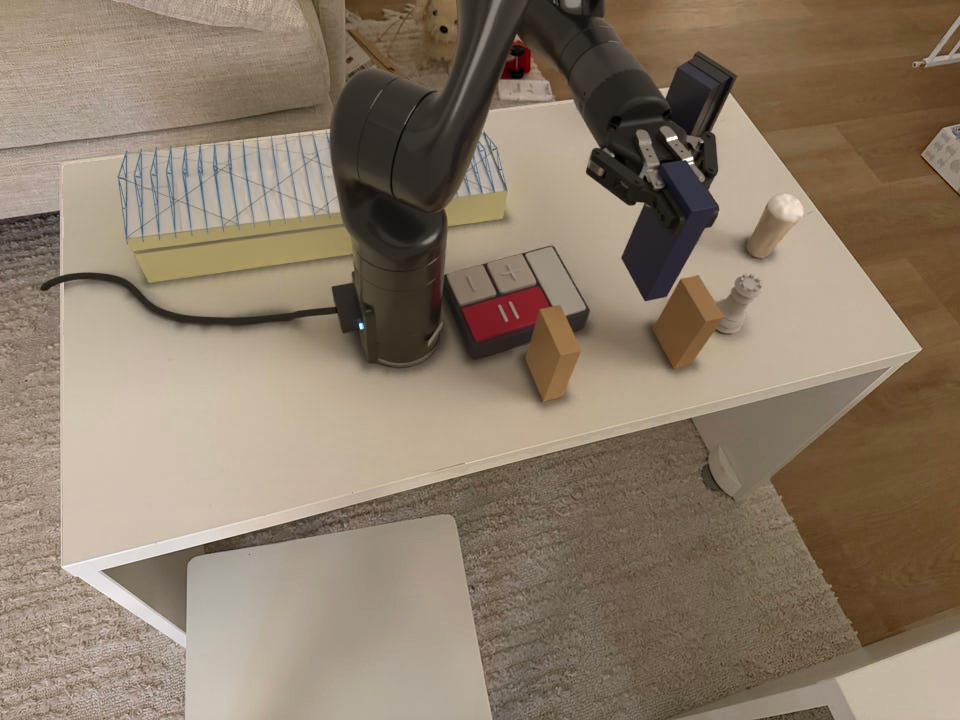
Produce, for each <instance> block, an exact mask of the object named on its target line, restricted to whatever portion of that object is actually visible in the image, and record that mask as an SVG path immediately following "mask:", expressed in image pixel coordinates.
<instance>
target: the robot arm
mask: <svg viewBox="0 0 960 720" xmlns="http://www.w3.org/2000/svg"><path fill="white" fill-rule="evenodd" d="M455 5H456V19H457V20H456V24H457V30H456V32H457V33H456V44H455V49H454V54H453V58H452V63H451V67H450V70H449V74H448V76H447V79H446V82H445V84H444V87H443V89H442V91H441V92H440V91H438V90H435V89H433V88H430V87H428V86H426V85H424V84H421V83H419V82H416V81H414V80H411V79H410V78H409V79H408V78H406V77H404V76H401V75H398V74H397V73H394V72H391V71H389V70H386V69H384V68H383V69H382V68H380V67H379V68H378V67H367V68H364V69H361V70H359V71H357V72H355V73H354V74H353V75H352V76H351V77H350V78H349V79H348V80H347V81H346V82H345V83H344V85H343V87H342V88H341V90H340V92H339V94H338V96H337V98H336V101H335V103H334V107H333V110H332V113H331V119H330V126H329V133H330V140H329V143H330V158H331V165H332V171H333V177H334V182H335V187H336V192H337V197H338V202H339V207H340V213H341V218H342V222H343V224H344V226H345V228H346V230H347V231H348V233H349V234H350V235H351V243H352V252H353V254H352V261H353V270H352V271H351V275H350V276H351V282H348V283H342V284H336V285H333V286H331V292H332V299H333V302H334V303H333V304H334V306H328V307H327V306H326V307H318V308H317V307H316V308H309V309H301V310H295V311H293V312H292V311H291V312H286V313H275V314H267V315H258V316H257V315H256V316H255V315H254V316H241V317H240V316H239V317H237V316H236V317H232V316H231V317H229V316H228V317H224V316H203V315H199V316H198V315H190V314H189V315H188V314H182V313H177V312H174V311H170V310H167V309H164V308H162V307H160V306H157V305H156V304H154V303H153V302H151V301H150V300H149V299H148V298H147V297H146V296H145V295H144V293H142V291H141V290H139V288H138V287H137V286H135V284H133V283H132V282H131V281H130V280H128V279H126V278H124V277H122V276H118V275H115V274H111V273H104V272H90V271H89V272H87V271H86V272H85V271H83V272H73V273H67V274H62V275H58V276H55V277H53V278H50V279H49V280H47V281H45V282H44V283H43V284H42V285H41V286H40V287H39V291H41V292H47V291H49V290H51V288H53V287H54V286H57V285H60V284H62V283H66V282H73V281H80V280H82V281H83V280H94V281H95V280H97V281H106V282H110V283H111V282H112V283H116V284H118V285H121V286H123V287H124V288H126V289H127V290H128V291H129V292H131V294H132V295H133V296H134V297H135V298H136V299H137V300H138V301H139V302H140V303H141V304H142V305H143V306H144V307H145V308H146V309H148V310H149V311H151V312H152V313H154V314H155V315H158V316H161V317H163V318H166V319H170V320H174V321H177V322H182V323H190V324H203V325H253V324H254V325H255V324H264V323H271V322H282V321H290V320H295V319H300V318H308V317H318V316H328V315H329V316H330V315H337V318H338V321H339V326H340V330H341V333H342V334H347V333H352V332H357V331H358V332H359V339H360V343H361V345H362V347H363V351H364V354H365V358H366V362H367V363H368V364H373V363H379V364H382V365H385V366H386V367H387V366H388V367H393V368H408V367H413V366H416V365H418V364H421V363H423V362H425V361H426V360H427V359H429V358H430V357H431V356H432V355H433V354H435V351H436V350H437V349H438V346H439V344H440V340H441V332H442V331H441V329H442V328H443V325H444V321H443V320H442V308H443V307H442V306H443V297H444V295H443V283H444V275H445V267H446V255H447V245H448V244H447V243H448V232H449V231H448V229H449V228H448V227H449V226H448V220H447V214H446V211H445V209H444V208H445V207H446V206H447V205H448V204H449V203H450V202H451V200H452V199H453V198H454V196H455V194H456V193H457V191H458V190H459V188H460V186H461V184H462V182H463V180H464V178H465V175H466V173H467V171H468V168H469V166H470V164H471V161H472V158H473V155H474V153H475V150H476V147H477V145H478V142H479V139H480V136H481V133H483V131H484V127H485V124H486V121H487V119H488V116H489V113H490V110H491V107H492V103H493V102H494V99H495V95H496V92H497V91H498V87H499V84H500V81H501V78H502V75H503V73H504V70H505V67H506V64H507V61H508V59H509V56H510V52H511V50H512V47H513V45H514V43H515V39H516V37H517V36H518V38H519V39H520V41H521V43H522V44H523V45H524V46H525V47H526V48H527V49H528V50H529V51H530V52H531V53H533V54H534V55H535V56H537V57H538V58H539V59H540V60H541V61H542V62H544V63H545V64H546V65H547V66H549V67H550V68H551V69H553V70H555V71H556V72H557V73H558V74H559V76H560V78H561V79H562V81H563V82H564V84H565V86H566V88H567V89H568V91H569V93H570V95H571V97H572V100H573V103H574V106H575V108H576V110H577V111H578V113H579V115H580V116H581V119H582V120H583V122H584V124H585V125H586V127H587V128H588V130H589V132H590V133H591V135H592V137H593V139H594V141H595V142H596V144H597V145H598V147H594V148H592V150H591V152H590V156H589V159H588V162H587V166H586V168H585V174H586V175H587V176H589V178H591V179H592V180H594V181H595V182H596V183H598V184H599V185H600V186H601V187H603V188H604V189H605V190H607V191H608V192H609V193H610V194H612V195H614V196H615V197H616V198H617V199H618V200H620V201H621V202H623V203H624V204H625V205H627V206H630V207H631V206H632V207H633V206H635V205H636V204H637V203H642V204H643V205H644V204H645V205H646V206H647V207H650V208H651V209H652V211H653V212H654V214H655V216H656V217H657V219H658V221H659V222H660V224H661V226H662V227H663V228H665V229H666V230H669V232H670V233H671V234H672V235H673V234H678V233H681V231H682V229H683V227H684V225H685V223H686V215H685V213H684V212H683V210H682V209H681V207H680V205H679V204H678V202H677V201H676V199H675V197H674V196H673V194H672V193H671V191H670V190H669V189H664V187H665V182H664V180H663V178H662V176H661V174H660V172H659V168H660V166H661V164H663V163H669V162H675V161H682V160H686V161H687V162H688V164H689V165H690V167H691V168H692V169H693V171H694V172H695V174H696V175H697V177H698V178H699V180H700V181H701V183H702V184H703V186H704V187H705V189H706V190H707V192H708V193H709V195H710V196H711V198H712V199H713V201H714V202H715V204H716V205H717V208H716V210H715V212H714V213H713V215H712V217H711V219H710V220H709V222H708V224H707V226H706V228H705V229H709V228H712V227H713V225H714V223H715V222H716V221H717V218H718V216H719V212H720V205H719V203H718V202H717V201H716V199H715V198H714V196H713V195H712V193H711V192H710V188H711V185H712V183H713V181H714V180H715V178H716V177H717V175H718V173H719V161H718V150H717V149H718V148H717V137H716V134H715V133H713V132H712V131H711V132H709V131H706V132H704V133H703V135H702V137H701V138H700V137H694V136H688V135H687V134H686V132H685V130H684V129H683V128H681V127H679V126H678V125H677V124H675V123H674V121H673V119H672V115H671V110H670V106H669V104H668V102H667V100H666V99H665V98H666V96H664V95H663V92H662V91H661V90H660V89H659V87H658V86H657V84H656V83H655V82H654V80H653V79H652V77H651V76H650V75H649V73H648V72H647V70H646V69H645V67H644V65H643V64H642V63H641V61H640V60H639V59H638V58H637V56H635V55H634V53H632V52H631V51H630V50H629V48H628V47H627V46H626V45H625V42H624V41H623V40H622V38H621V37H620V36H619V34H618V33H617V32H616V29H614V27H613V26H612V25H611V24H610V23H609V21H607V20H606V19H604V17H605V15H606V9H607V0H455ZM621 180H622V181H623V182H625V183H626V184H627V185H629V187H628V186H626V185H624V184H623V183H622V182H621ZM441 320H442V321H441Z"/></svg>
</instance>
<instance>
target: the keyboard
mask: <svg viewBox="0 0 960 720" xmlns="http://www.w3.org/2000/svg"><path fill="white" fill-rule="evenodd" d="M329 140H330V132H327V130H325V132H324V133H323V132H322V133H314V132H313V131H312V132H311V133H308V134H302V135H301V134H298V135H296V136H295V135H294V136H286V134H284V136H283V137H275V138H273V136H272V135H271V136H270V138H265V139H259V137H258V136H257V137H256V140H245V139H244V138H242V141H236V142H230V140H228V141H227V142H224V143H216V141H214V142H213V144H203V145H202V142H199V145H196V146H187V144H185V145H184V147H175V148H173V146H172V145H170V147H169V148H166V149H158V147H157V146H156V147H155V150H147V151H146V150H145V151H143V148H140V151H137V152H130V151H128V150H127V149H126V150H125V153H124V156H123V159H122V161H121V165H120V169H119V171H118V174H117V176H116V177H117V182H118V183H117V184H118V190H119V195H120V196H119V197H120V204H121V205H120V206H121V212H122V213H121V214H122V219H123V226H124V227H123V228H124V235H125V241H126V245H128V246H129V248H130V250H131V252H133V256H134V258H135V260H136V262H137V263H138V266H139V267H140V269H141V271H142V273H143V275H144V276H145V279H146V281H147V283H149V284H151V283H158V282H165V281H172V280H178V279H185V278H187V279H188V278H192V277H193V278H194V277H201V276H208V275H214V274H215V275H216V274H221V273H228V272H235V271H242V270H243V271H244V270H250V269H257V268H265V267H271V266H278V265H285V264H293V263H299V262H307V261H315V260H321V259H327V258H334V257H341V256H350V255H353V252H352V243H351V235H350V234H349V233H348V231H347V230H346V228H345V226H344V224H343V222H342V218H341V213H340V207H339V202H338V197H337V192H336V187H335V182H334V177H333V171H332V165H331V158H330V143H329ZM492 145H493V147H494V148H492ZM495 150H496V156H497V157H496V158H495V156H494V153H493V152H494V151H495ZM496 159H497V161H496ZM124 162H125V164H124ZM124 165H125V166H124ZM124 167H125V168H124ZM122 170H123V175H124V177H121V176H122V174H121V173H122ZM121 180H124V181H125V196H124V191H123V187H122V184H121ZM508 192H509V191H508V188H507V183H506V179H505V174H504V169H503V166H502V162H501V158H500V153H499V149H498V146H497V145H496V144H495V143H494V142H493V141H492V139H491V138H490V137H489V135H488V134H487V133H486V132H485V131H482V133H481V136H480V139H479V142H478V145H477V147H476V150H475V153H474V155H473V158H472V161H471V164H470V166H469V168H468V171H467V173H466V175H465V178H464V180H463V182H462V184H461V186H460V188H459V190H458V191H457V193H456V194H455V196H454V198H453V199H452V200H451V202H450V203H449V204H448V205H447V206H446V207H445V208H444V209H445V211H446V214H447V220H448V227H453V226H460V225H461V226H462V225H468V224H474V223H483V222H490V221H498V220H503V219H504V213H505V209H506V203H507V197H508ZM123 203H124V205H123ZM123 206H125V207H123ZM124 210H125V213H124Z"/></svg>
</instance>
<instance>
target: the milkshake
mask: <svg viewBox="0 0 960 720" xmlns="http://www.w3.org/2000/svg"><path fill="white" fill-rule="evenodd" d="M804 211H805V210H804V206H803V204H802V203H801V201H800V200H799V199H798V198H797V197H795V196H794V195H792V194H790V193H784V192H783V193H776V194H774V195H773V196H771V197H770V198H769V199H768V200H767V203H766V204H765V207H764V209H763V211H762V214H761V216H760V218H759V220H758V222H757V224H756V226H755V228H754V230H753V232H752V234H751V235H750V237H749V240H748V241H747V243H746V245H745V248H746V251H747V252H748V254H750V255H751V256H752V257H754V258H757V259H765V258H768V257H769V255H770V254H771V253H772V252H773V251H774V249H775V248H776V247H777V246H778V245H779V244H780V242H781V241H782V240H783V239H784V238H785V236H787V235H788V233H789V232H790V231H791V230H792V229H793V228H794V226H795V225H796V224H797V223H798V222H799V221H800V220H801V219H802V218H804V217H806V216H807V215H810V214H812V213H814V210H813V211H810V212H808V213H807V214H804V213H805V212H804Z"/></svg>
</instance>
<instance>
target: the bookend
mask: <svg viewBox="0 0 960 720" xmlns="http://www.w3.org/2000/svg"><path fill="white" fill-rule="evenodd" d="M737 78H738V75H737V74H736V73H734V72H733V71H731V70H729V69H728V68H726V67H725V66H723V65H722V64H721V63H718V62H717V61H715V60H714V59H712V58H711V57H709V56H708V55H706V54H704V53H703V52H701V51H700V50H697V51H696V52H695V53H694V54H693V57H692V58H691V59H689V60H687V61H685V62H684V63H682V64H680V65H679V66H677V67H676V69H675V72H674V75H673V77H672V80H671V83H670V86H669V88H668V91H667V93H666V95H665V99H666V100H667V102H668V104H669V106H670V110H671V115H672V119H673V121H674V123H675V124H677V125H678V126H679V127H681V128H683V129H684V130H685V132H686V134H687V135H688V136H694V137H700V138H701V137H702V135H703V133H704V132H706V131H709V132H712V131H713V129H714V126H715V124H716V122H717V120H718V118H719V116H720V114H721V112H722V110H723V108H724V106H725V103H726V102H727V99H728V97H729V95H730V93H731V91H732V89H733V87H734V84H735V82H736V80H737ZM621 184H623V185H624V186H625V187H627V188H628V187H629V185H627V184H626V183H625V182H623V181H622V180H621Z"/></svg>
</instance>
